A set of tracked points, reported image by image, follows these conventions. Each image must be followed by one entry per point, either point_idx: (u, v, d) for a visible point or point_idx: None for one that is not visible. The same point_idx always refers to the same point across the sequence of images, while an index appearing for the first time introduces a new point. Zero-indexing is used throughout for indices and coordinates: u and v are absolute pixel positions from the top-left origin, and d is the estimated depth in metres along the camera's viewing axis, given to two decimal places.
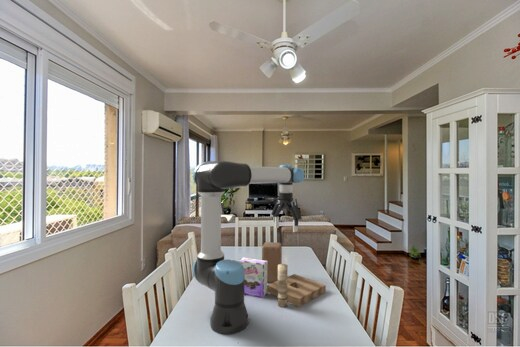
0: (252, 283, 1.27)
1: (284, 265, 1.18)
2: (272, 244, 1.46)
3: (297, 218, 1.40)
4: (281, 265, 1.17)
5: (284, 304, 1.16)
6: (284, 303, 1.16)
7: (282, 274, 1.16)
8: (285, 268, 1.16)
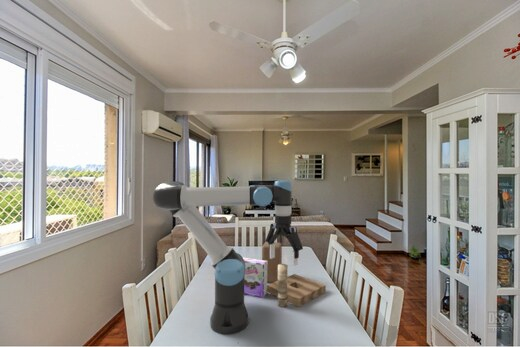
0: (252, 283, 1.27)
1: (284, 265, 1.18)
2: None
3: (297, 249, 1.10)
4: (281, 265, 1.17)
5: (284, 304, 1.16)
6: (284, 303, 1.16)
7: (282, 274, 1.16)
8: (285, 268, 1.16)
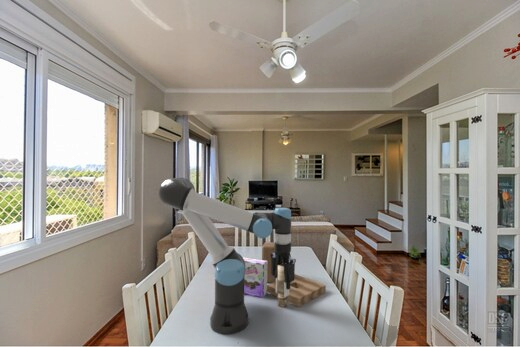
0: (252, 283, 1.27)
1: None
2: (272, 244, 1.46)
3: (289, 280, 1.14)
4: (281, 265, 1.17)
5: (284, 304, 1.16)
6: (284, 303, 1.16)
7: (282, 274, 1.16)
8: None
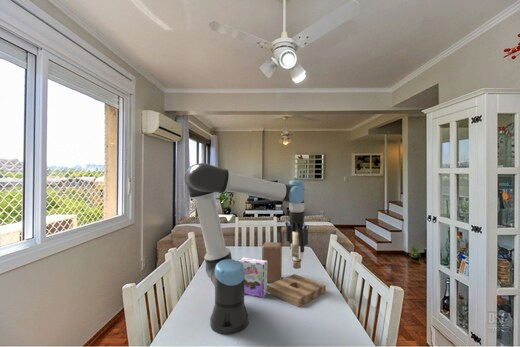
0: (252, 283, 1.27)
1: None
2: (272, 244, 1.46)
3: (303, 244, 1.27)
4: (296, 231, 1.31)
5: (299, 266, 1.30)
6: (299, 265, 1.30)
7: (297, 239, 1.29)
8: None
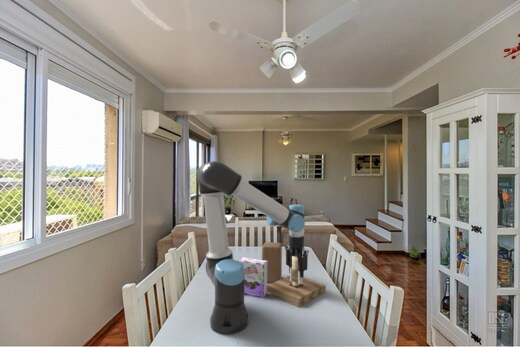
0: (252, 283, 1.27)
1: None
2: (272, 244, 1.46)
3: (302, 269, 1.27)
4: (295, 256, 1.31)
5: None
6: None
7: (296, 264, 1.29)
8: None
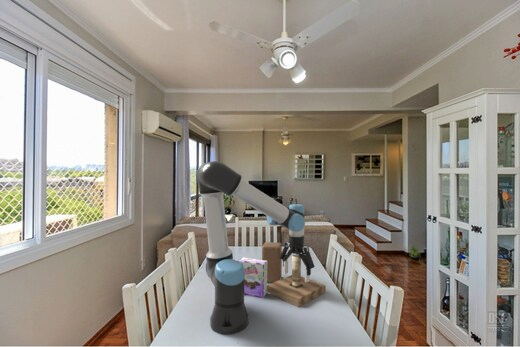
0: (252, 283, 1.27)
1: (298, 256, 1.31)
2: (272, 244, 1.46)
3: (310, 267, 1.24)
4: (295, 256, 1.31)
5: None
6: None
7: (296, 264, 1.29)
8: (299, 258, 1.30)
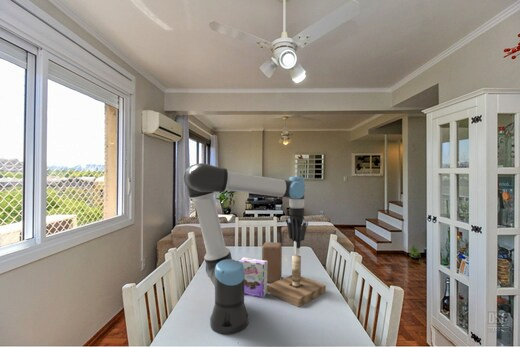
0: (252, 283, 1.27)
1: (298, 256, 1.31)
2: (272, 244, 1.46)
3: (299, 239, 1.28)
4: (295, 256, 1.31)
5: None
6: None
7: (296, 264, 1.29)
8: (299, 258, 1.29)
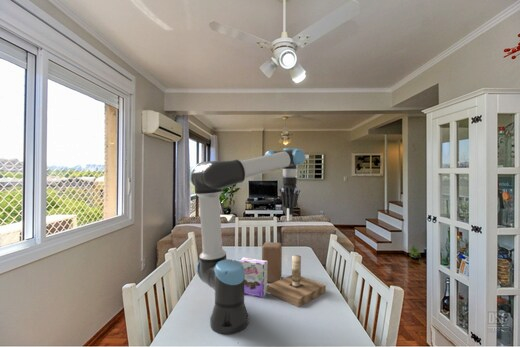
0: (252, 283, 1.27)
1: (298, 256, 1.31)
2: (272, 244, 1.46)
3: (292, 206, 1.38)
4: (295, 256, 1.31)
5: None
6: None
7: (296, 264, 1.29)
8: (299, 258, 1.30)
